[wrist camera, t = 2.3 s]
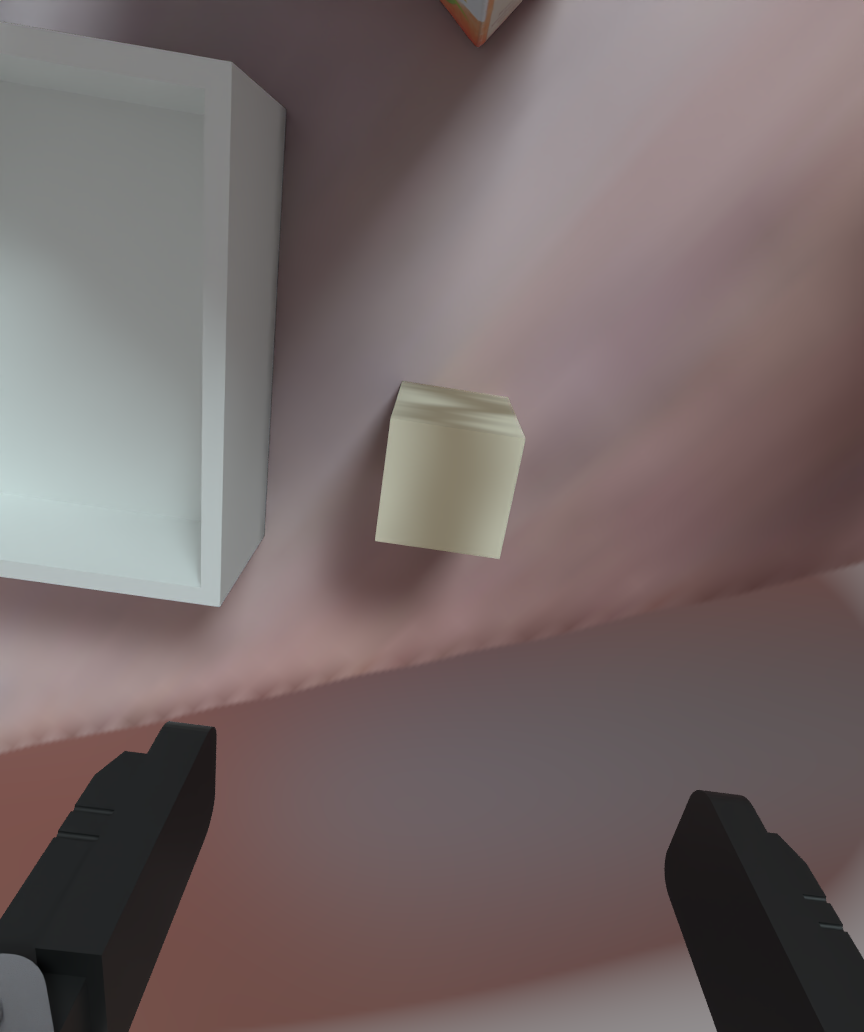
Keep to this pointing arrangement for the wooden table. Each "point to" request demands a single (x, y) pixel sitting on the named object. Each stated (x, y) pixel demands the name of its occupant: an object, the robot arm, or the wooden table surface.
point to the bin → (134, 314)
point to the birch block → (449, 470)
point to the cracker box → (480, 16)
